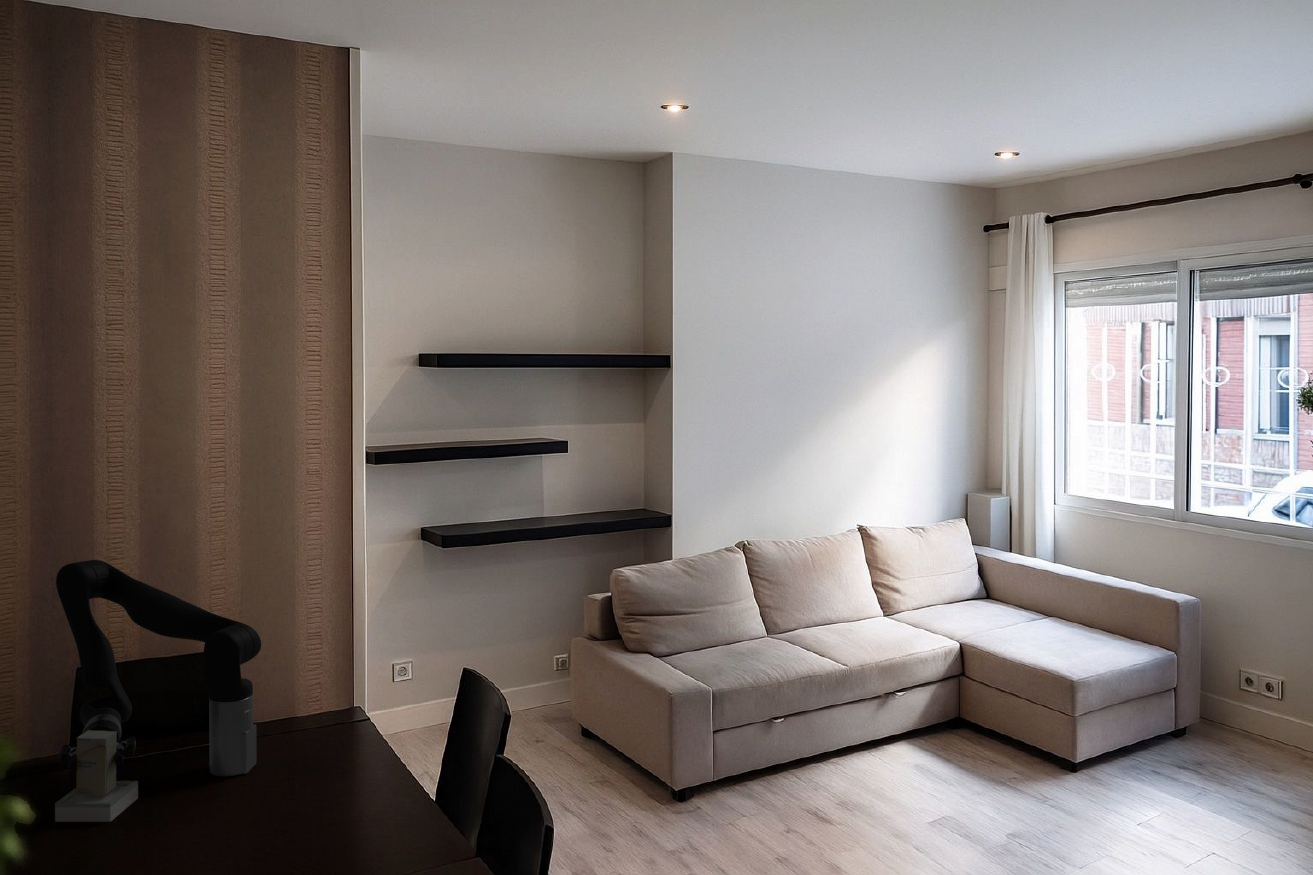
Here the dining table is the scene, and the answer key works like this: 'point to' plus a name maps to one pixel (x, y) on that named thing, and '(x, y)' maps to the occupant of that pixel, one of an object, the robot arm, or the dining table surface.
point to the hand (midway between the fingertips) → (96, 764)
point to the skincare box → (96, 762)
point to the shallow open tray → (96, 804)
